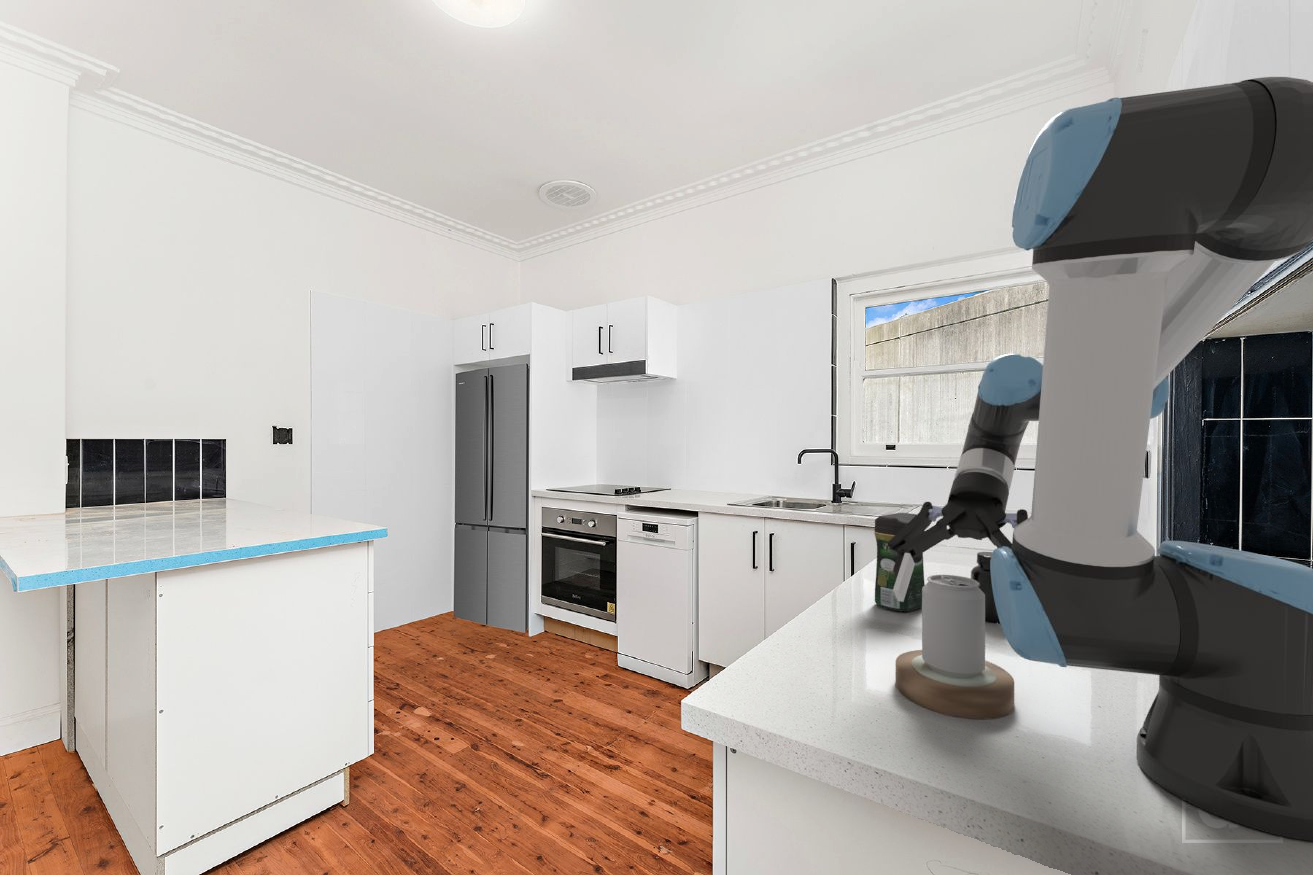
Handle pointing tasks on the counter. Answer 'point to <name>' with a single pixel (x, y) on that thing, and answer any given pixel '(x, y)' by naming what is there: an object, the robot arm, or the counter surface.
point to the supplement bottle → (986, 585)
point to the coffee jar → (885, 563)
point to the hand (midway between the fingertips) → (950, 606)
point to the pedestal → (955, 689)
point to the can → (953, 626)
